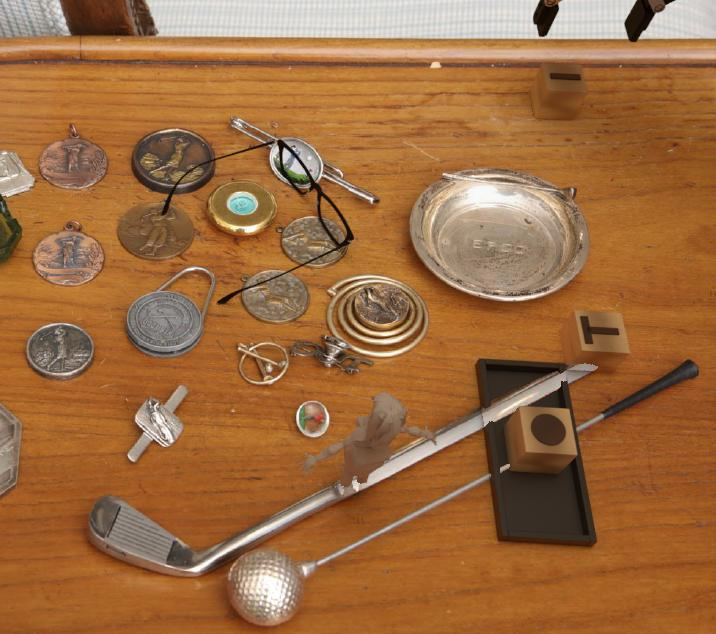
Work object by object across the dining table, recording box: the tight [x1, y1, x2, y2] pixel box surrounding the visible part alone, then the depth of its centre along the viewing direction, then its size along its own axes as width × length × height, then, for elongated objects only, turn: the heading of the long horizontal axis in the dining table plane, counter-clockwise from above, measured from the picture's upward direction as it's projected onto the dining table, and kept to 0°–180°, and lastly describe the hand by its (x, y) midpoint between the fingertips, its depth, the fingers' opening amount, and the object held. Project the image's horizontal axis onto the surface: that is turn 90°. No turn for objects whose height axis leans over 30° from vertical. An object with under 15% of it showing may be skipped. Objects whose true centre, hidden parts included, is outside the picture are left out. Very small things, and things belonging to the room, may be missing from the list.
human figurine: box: [298, 391, 438, 488], centre depth 76 cm, size 12×4×18 cm, turn 103°
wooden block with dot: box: [503, 406, 578, 474], centre depth 83 cm, size 4×4×5 cm
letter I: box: [528, 62, 589, 121], centre depth 107 cm, size 4×4×5 cm
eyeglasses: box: [161, 138, 355, 305], centre depth 97 cm, size 16×16×4 cm
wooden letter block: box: [558, 309, 631, 374], centre depth 89 cm, size 4×4×5 cm
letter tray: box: [474, 357, 598, 548], centre depth 85 cm, size 8×18×2 cm, turn 176°
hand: (584, 30), depth 99 cm, fingers open, 9 cm apart
